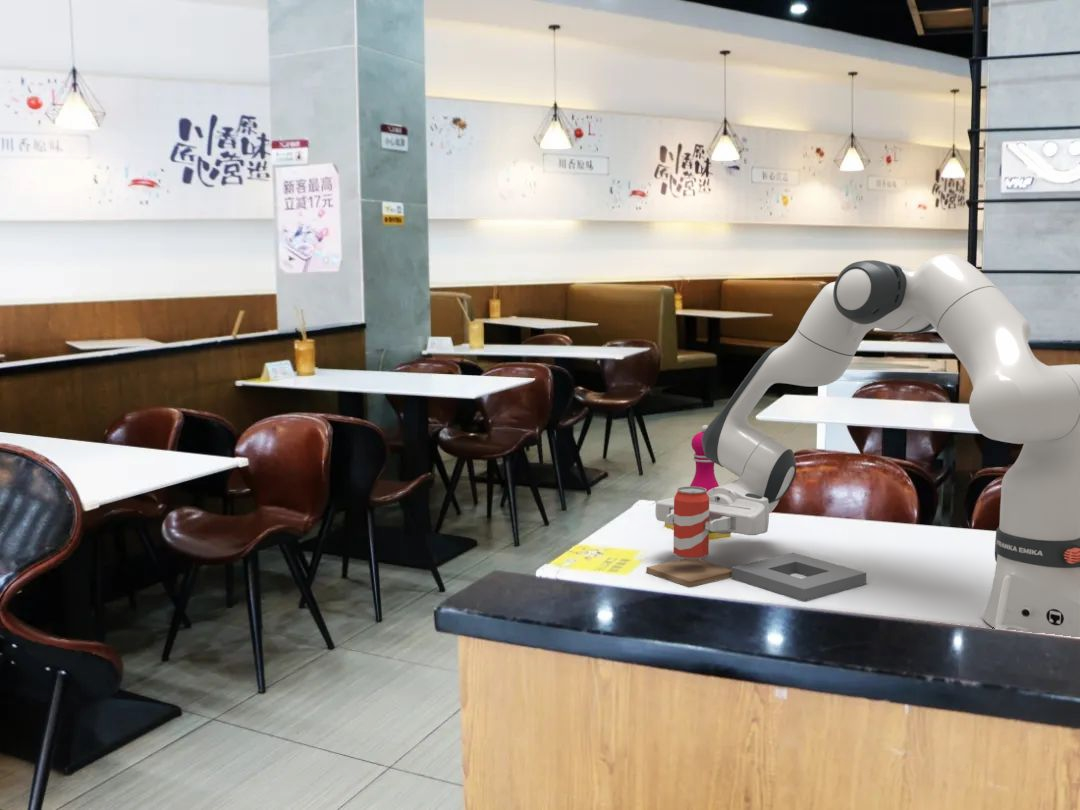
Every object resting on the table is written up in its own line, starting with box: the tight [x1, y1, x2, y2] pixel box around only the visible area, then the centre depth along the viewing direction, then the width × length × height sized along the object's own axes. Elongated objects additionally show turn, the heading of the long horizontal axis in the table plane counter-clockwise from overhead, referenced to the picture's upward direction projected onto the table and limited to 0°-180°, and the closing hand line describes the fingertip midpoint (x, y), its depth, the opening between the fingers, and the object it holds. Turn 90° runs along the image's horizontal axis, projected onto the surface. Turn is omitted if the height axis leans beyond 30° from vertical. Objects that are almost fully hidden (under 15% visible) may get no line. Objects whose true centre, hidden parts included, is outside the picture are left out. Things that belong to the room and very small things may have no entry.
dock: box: [730, 552, 867, 602], centre depth 178 cm, size 16×16×2 cm
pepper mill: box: [689, 424, 720, 493], centre depth 227 cm, size 7×7×20 cm
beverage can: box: [672, 485, 710, 560], centre depth 181 cm, size 6×6×12 cm
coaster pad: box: [645, 558, 732, 588], centre depth 182 cm, size 11×11×1 cm
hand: (688, 523), depth 181 cm, fingers closed on beverage can, 6 cm apart
